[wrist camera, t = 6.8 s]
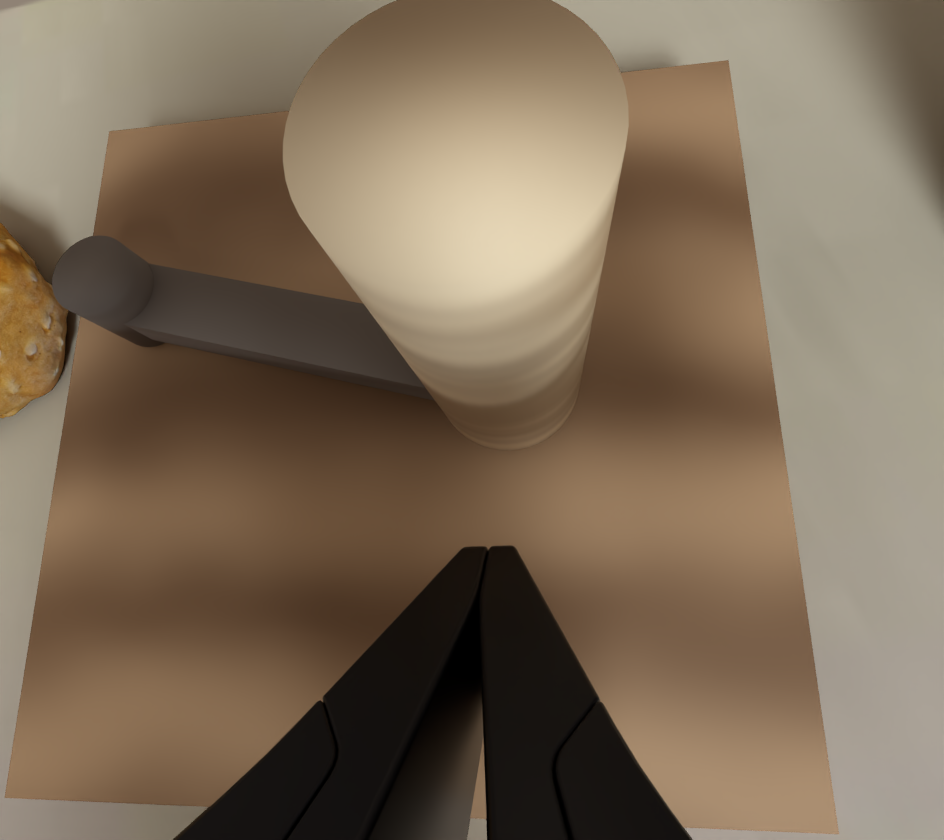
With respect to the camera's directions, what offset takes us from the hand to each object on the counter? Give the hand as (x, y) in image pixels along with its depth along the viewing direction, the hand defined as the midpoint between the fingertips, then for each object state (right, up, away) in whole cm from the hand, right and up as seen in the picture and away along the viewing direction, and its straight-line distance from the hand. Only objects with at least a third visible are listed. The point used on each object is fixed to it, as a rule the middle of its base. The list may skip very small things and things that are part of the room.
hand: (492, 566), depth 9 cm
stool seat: (-2, +2, +11) cm, 12 cm away
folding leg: (-5, +5, +9) cm, 11 cm away
